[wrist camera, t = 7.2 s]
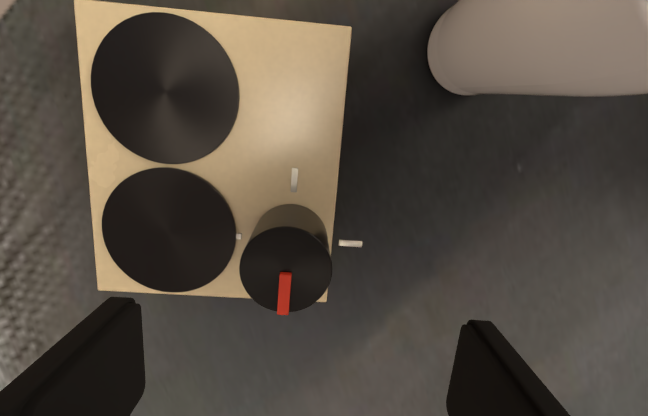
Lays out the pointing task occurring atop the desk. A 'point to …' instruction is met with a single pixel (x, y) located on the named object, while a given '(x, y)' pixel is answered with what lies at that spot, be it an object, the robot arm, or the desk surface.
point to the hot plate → (236, 128)
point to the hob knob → (287, 259)
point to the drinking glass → (542, 47)
